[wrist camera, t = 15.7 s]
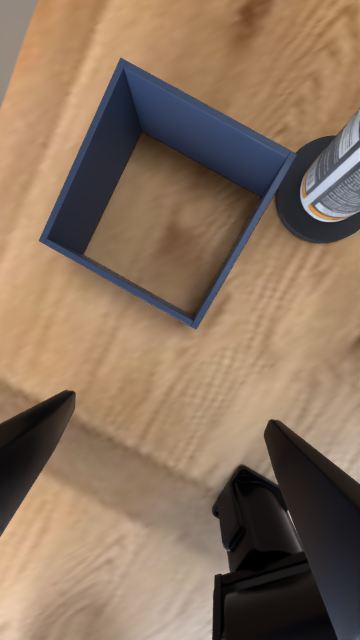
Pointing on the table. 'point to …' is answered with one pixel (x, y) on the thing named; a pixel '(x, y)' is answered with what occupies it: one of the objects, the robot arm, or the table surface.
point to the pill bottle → (335, 177)
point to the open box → (178, 133)
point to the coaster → (292, 205)
